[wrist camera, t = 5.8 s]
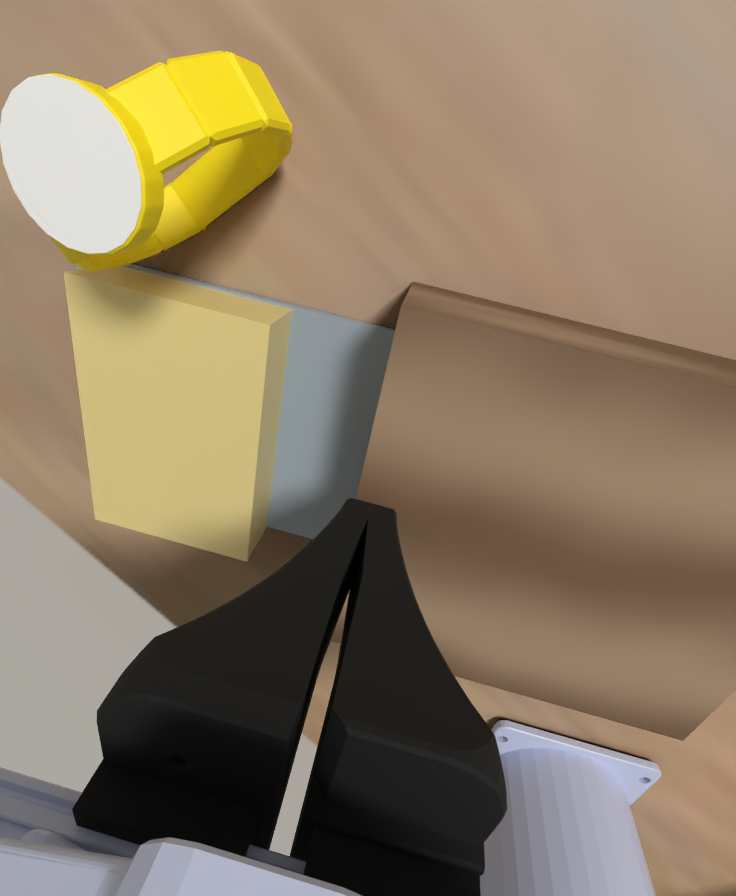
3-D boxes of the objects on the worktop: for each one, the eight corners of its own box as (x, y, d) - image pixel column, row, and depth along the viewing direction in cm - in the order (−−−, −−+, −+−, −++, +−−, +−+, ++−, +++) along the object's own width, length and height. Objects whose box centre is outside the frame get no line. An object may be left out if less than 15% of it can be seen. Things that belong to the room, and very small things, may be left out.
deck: (646, 653, 19) (682, 740, 16) (343, 569, 19) (323, 638, 16) (860, 390, 13) (985, 450, 10) (413, 282, 13) (400, 305, 10)
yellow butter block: (95, 519, 17) (128, 489, 19) (247, 561, 17) (266, 528, 19) (63, 272, 13) (110, 263, 14) (270, 325, 12) (292, 309, 14)
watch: (188, 275, 15) (35, 325, 10) (130, 190, 14) (-72, 199, 9) (336, 161, 12) (230, 152, 7) (277, 49, 11) (108, -51, 6)
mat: (346, 543, 19) (344, 548, 18) (106, 477, 19) (101, 481, 19) (396, 329, 14) (395, 332, 14) (80, 251, 15) (73, 252, 14)
